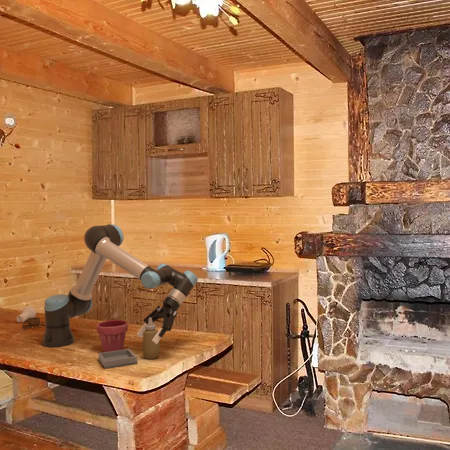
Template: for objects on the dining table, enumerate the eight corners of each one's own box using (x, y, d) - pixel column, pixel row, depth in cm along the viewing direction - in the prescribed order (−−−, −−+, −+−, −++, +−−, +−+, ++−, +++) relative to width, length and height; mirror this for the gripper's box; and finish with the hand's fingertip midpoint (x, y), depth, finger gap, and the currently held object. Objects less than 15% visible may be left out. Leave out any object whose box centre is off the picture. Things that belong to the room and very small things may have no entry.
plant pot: (92, 353, 245) (90, 326, 244) (106, 345, 258) (105, 319, 258) (120, 355, 241) (119, 327, 240) (133, 346, 254) (132, 320, 254)
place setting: (40, 322, 313) (40, 312, 312) (63, 326, 302) (62, 316, 301) (14, 329, 298) (13, 318, 298) (36, 333, 287) (36, 322, 287)
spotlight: (38, 316, 320) (34, 304, 318) (28, 324, 309) (23, 312, 308) (27, 318, 322) (22, 306, 321) (16, 327, 312) (11, 314, 310)
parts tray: (98, 359, 235) (98, 353, 235) (129, 355, 241) (129, 348, 240) (104, 368, 222) (104, 361, 222) (137, 363, 228) (137, 357, 228)
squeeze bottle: (143, 355, 240) (141, 316, 239) (161, 354, 241) (159, 315, 240) (141, 360, 232) (140, 320, 231) (160, 359, 233) (158, 319, 232)
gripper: (194, 309, 235) (166, 349, 227) (164, 301, 255) (138, 338, 246) (184, 299, 232) (155, 339, 223) (154, 292, 251) (127, 329, 243)
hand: (146, 339), depth 235 cm, fingers open, 13 cm apart
